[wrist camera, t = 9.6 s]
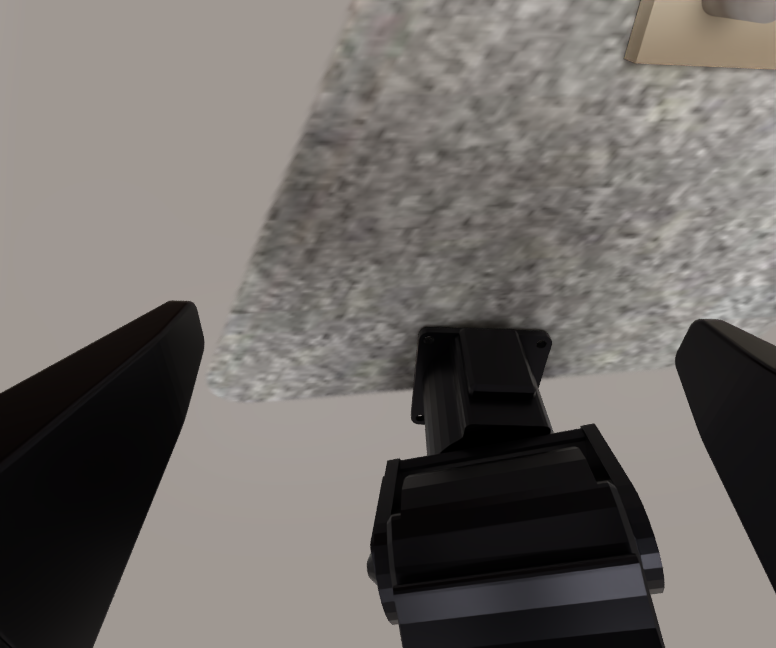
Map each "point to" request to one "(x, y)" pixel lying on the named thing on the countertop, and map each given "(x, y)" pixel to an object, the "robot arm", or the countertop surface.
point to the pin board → (705, 33)
